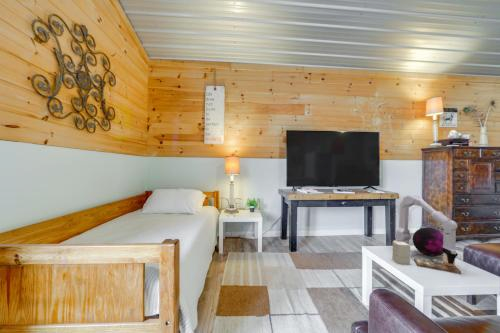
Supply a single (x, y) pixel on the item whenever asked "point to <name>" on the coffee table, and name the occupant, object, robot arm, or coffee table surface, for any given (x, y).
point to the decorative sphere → (428, 241)
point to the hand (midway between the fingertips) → (449, 261)
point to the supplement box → (401, 252)
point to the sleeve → (447, 260)
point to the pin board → (436, 265)
